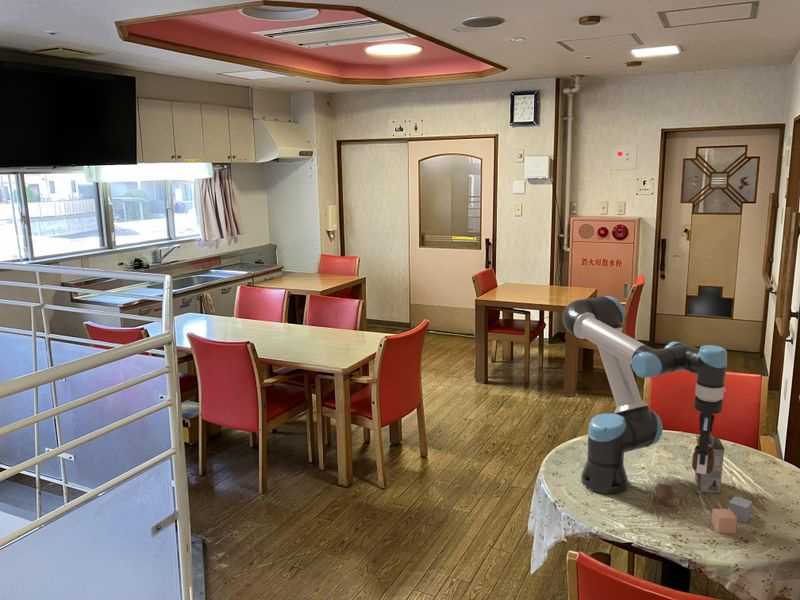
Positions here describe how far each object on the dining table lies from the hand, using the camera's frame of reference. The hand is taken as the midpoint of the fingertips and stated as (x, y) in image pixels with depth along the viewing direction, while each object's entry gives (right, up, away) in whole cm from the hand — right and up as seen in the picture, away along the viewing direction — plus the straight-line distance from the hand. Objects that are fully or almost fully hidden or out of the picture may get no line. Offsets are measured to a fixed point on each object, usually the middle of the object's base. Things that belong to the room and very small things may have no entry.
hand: (702, 468), depth 201 cm
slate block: (+12, -15, +1) cm, 19 cm away
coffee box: (+10, -11, +19) cm, 24 cm away
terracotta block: (+4, -17, -5) cm, 18 cm away
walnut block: (-7, -14, +9) cm, 18 cm away
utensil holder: (0, -1, 0) cm, 1 cm away
